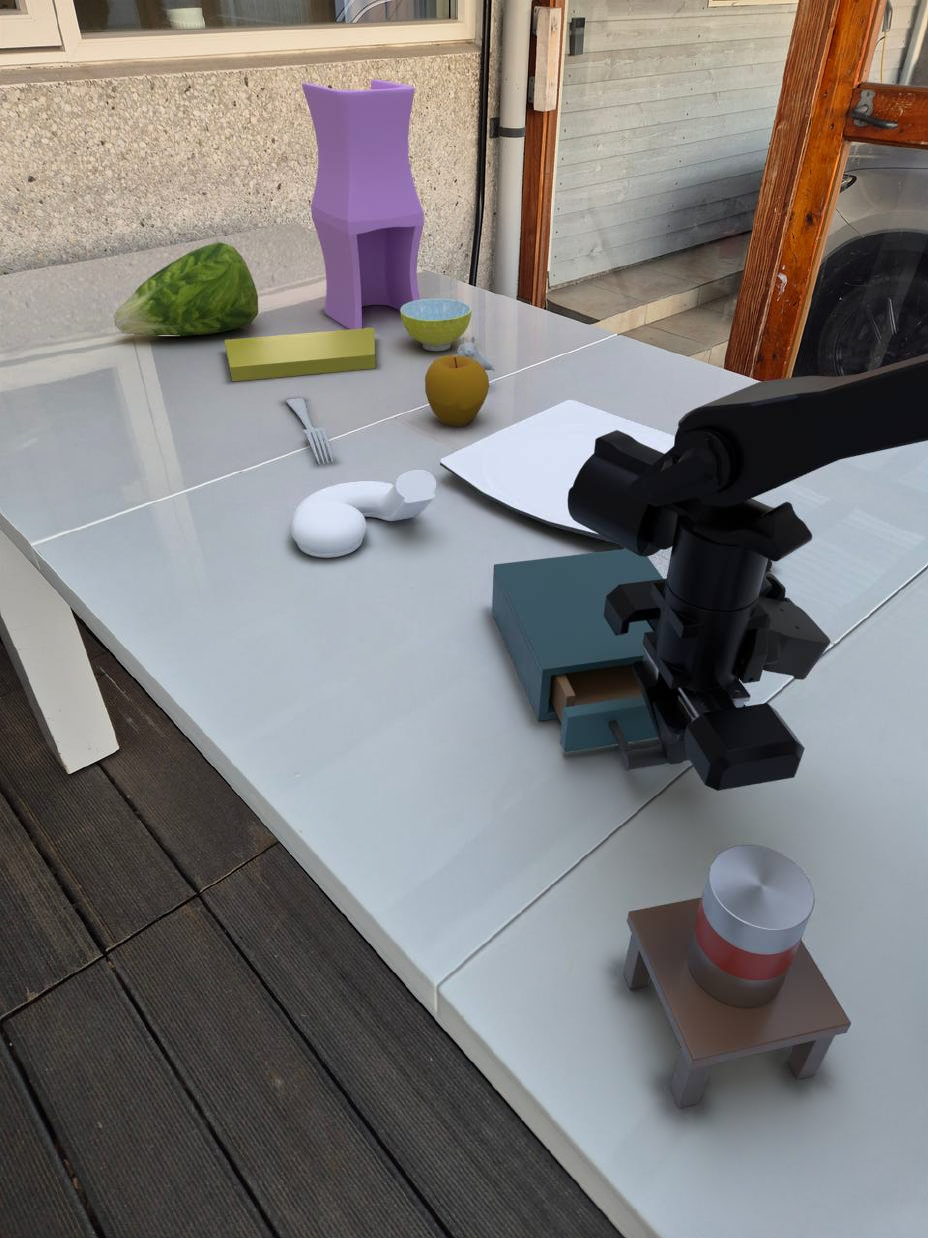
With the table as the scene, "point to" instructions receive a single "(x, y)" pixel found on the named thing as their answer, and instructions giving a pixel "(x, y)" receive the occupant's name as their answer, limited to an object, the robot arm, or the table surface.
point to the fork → (311, 429)
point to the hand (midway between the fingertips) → (673, 760)
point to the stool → (719, 1028)
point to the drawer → (605, 714)
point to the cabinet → (565, 617)
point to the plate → (544, 460)
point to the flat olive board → (301, 354)
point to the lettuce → (193, 296)
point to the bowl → (436, 321)
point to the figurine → (473, 353)
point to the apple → (456, 389)
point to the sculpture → (357, 511)
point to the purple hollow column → (365, 198)
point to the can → (749, 925)
